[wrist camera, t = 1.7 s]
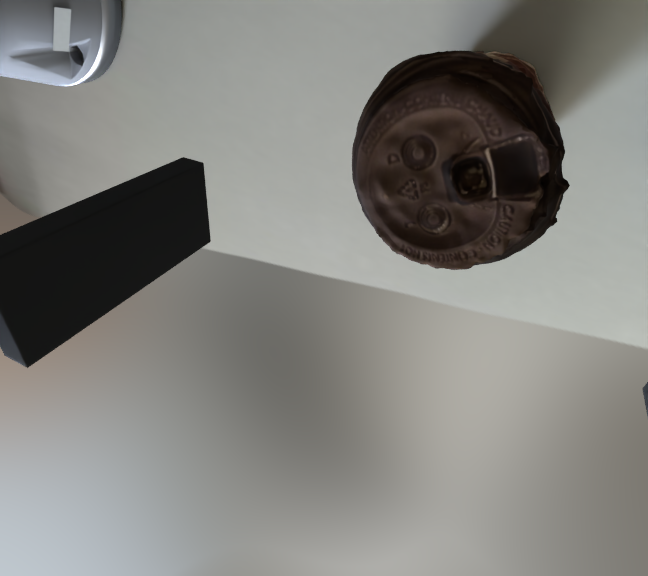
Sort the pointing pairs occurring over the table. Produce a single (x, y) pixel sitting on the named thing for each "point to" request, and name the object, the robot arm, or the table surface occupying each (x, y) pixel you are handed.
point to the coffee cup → (459, 158)
